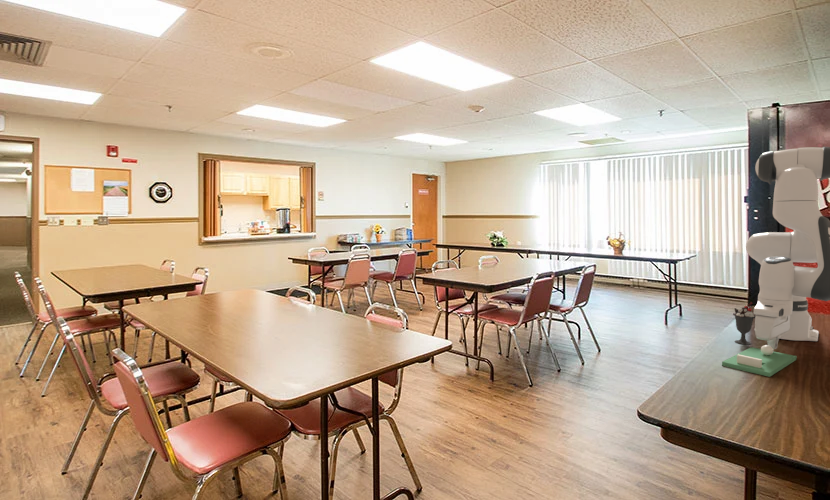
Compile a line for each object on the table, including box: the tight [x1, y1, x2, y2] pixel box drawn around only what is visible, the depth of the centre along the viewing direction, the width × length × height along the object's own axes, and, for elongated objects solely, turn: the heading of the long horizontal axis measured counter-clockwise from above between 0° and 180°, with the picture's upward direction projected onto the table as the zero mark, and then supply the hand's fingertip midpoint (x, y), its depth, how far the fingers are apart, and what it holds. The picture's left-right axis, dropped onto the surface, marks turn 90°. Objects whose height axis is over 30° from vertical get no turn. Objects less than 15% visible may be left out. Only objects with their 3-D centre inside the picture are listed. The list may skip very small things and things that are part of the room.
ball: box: [760, 344, 774, 355], centre depth 142 cm, size 3×3×3 cm
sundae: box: [732, 301, 756, 346], centre depth 159 cm, size 7×7×15 cm
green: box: [721, 346, 797, 378], centre depth 139 cm, size 24×12×4 cm, turn 125°
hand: (772, 348), depth 145 cm, fingers closed
